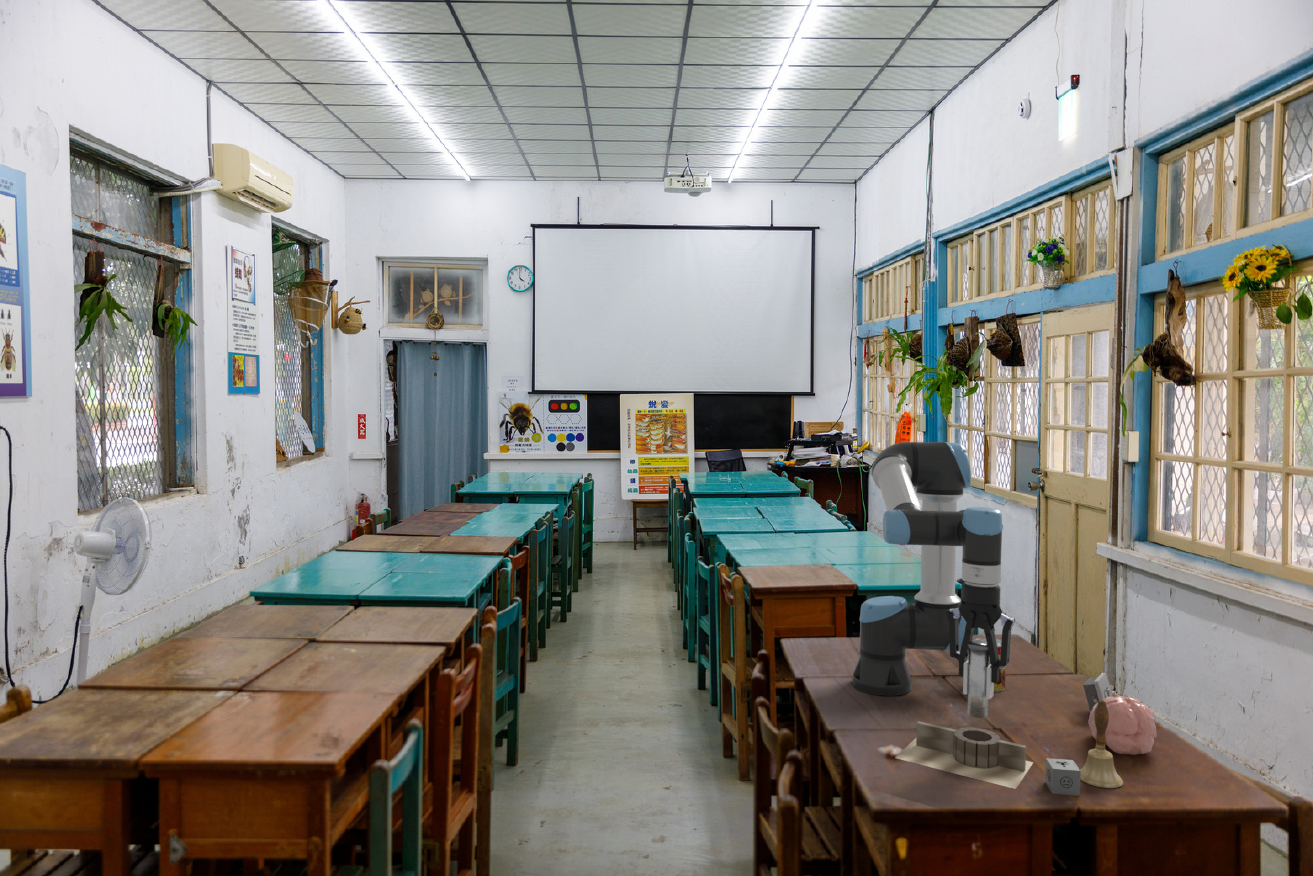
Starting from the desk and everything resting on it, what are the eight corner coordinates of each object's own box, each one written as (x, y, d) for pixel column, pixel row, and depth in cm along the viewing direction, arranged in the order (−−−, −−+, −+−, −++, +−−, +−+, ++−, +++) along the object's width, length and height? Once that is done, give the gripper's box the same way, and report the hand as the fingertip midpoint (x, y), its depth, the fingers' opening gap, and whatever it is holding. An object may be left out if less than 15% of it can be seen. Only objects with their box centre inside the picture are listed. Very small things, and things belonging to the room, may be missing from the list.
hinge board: (894, 763, 181) (895, 734, 180) (918, 740, 193) (919, 713, 193) (1015, 795, 167) (1016, 763, 166) (1033, 768, 179) (1034, 738, 179)
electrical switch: (1108, 722, 205) (1105, 682, 205) (1084, 718, 208) (1081, 680, 208) (1116, 711, 212) (1113, 673, 212) (1093, 708, 215) (1090, 670, 215)
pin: (961, 715, 179) (963, 644, 178) (968, 708, 183) (970, 638, 182) (986, 721, 176) (988, 648, 175) (993, 713, 180) (995, 642, 179)
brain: (1082, 754, 196) (1075, 698, 201) (1142, 757, 195) (1134, 700, 199) (1107, 753, 182) (1099, 692, 186) (1172, 755, 180) (1163, 694, 184)
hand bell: (1068, 771, 178) (1070, 694, 177) (1107, 769, 178) (1109, 693, 178) (1092, 789, 170) (1094, 709, 169) (1132, 788, 170) (1135, 708, 169)
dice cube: (1072, 784, 172) (1072, 760, 171) (1079, 796, 167) (1080, 771, 167) (1045, 782, 173) (1046, 758, 172) (1052, 794, 168) (1053, 768, 167)
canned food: (1009, 692, 225) (1011, 646, 224) (979, 691, 225) (980, 646, 225) (998, 682, 233) (1000, 638, 232) (969, 681, 233) (970, 637, 232)
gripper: (933, 580, 180) (931, 691, 181) (1020, 592, 170) (1017, 709, 171) (945, 575, 186) (942, 682, 187) (1029, 585, 176) (1025, 698, 178)
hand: (978, 694), depth 179 cm, fingers closed on pin, 4 cm apart
